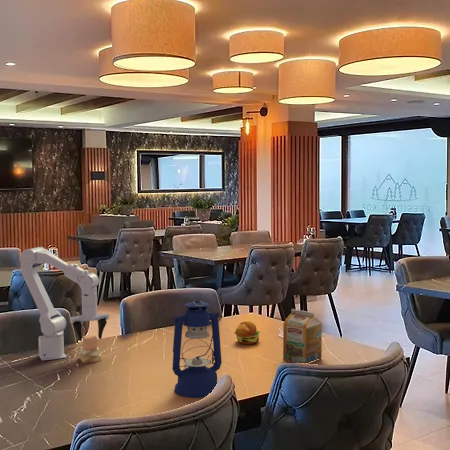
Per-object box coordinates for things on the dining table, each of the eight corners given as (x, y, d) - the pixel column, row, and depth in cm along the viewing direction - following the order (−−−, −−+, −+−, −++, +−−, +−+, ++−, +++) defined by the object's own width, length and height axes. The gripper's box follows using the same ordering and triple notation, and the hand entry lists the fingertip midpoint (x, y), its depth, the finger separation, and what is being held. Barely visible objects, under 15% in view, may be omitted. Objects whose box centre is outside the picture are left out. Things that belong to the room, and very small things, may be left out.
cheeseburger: (264, 340, 265) (262, 319, 263) (253, 352, 257) (250, 330, 254) (244, 336, 271) (242, 316, 268) (232, 348, 262) (229, 327, 259)
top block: (83, 357, 234) (83, 351, 234) (80, 353, 240) (80, 347, 240) (99, 355, 237) (99, 349, 237) (96, 351, 242) (95, 345, 242)
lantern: (180, 401, 194) (179, 307, 191) (165, 386, 208) (164, 298, 205) (230, 393, 200) (230, 302, 198) (212, 379, 214) (212, 294, 212)
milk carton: (283, 359, 238) (283, 311, 236) (299, 353, 245) (299, 306, 244) (305, 365, 231) (305, 315, 229) (321, 358, 238) (321, 310, 237)
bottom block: (83, 364, 234) (83, 358, 234) (79, 359, 240) (79, 353, 240) (101, 362, 237) (101, 355, 237) (96, 357, 243) (96, 351, 243)
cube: (85, 350, 235) (85, 338, 235) (83, 347, 239) (82, 336, 239) (97, 348, 237) (96, 337, 237) (94, 346, 241) (94, 334, 241)
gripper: (72, 308, 230) (73, 343, 231) (110, 304, 237) (111, 339, 238) (68, 304, 237) (69, 339, 238) (105, 301, 243) (106, 335, 244)
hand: (90, 339), depth 238 cm, fingers open, 7 cm apart
